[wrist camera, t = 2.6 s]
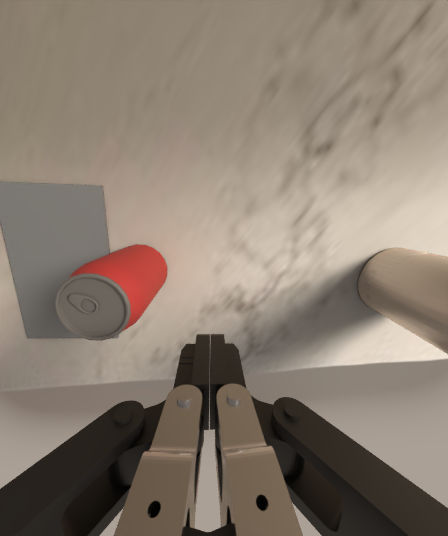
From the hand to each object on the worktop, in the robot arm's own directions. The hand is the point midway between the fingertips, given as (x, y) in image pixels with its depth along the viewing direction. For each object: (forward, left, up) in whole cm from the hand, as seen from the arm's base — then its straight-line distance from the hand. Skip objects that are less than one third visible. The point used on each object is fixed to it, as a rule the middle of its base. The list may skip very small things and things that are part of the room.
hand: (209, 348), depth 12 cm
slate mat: (+19, 0, -17) cm, 25 cm away
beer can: (+9, 0, -17) cm, 19 cm away
